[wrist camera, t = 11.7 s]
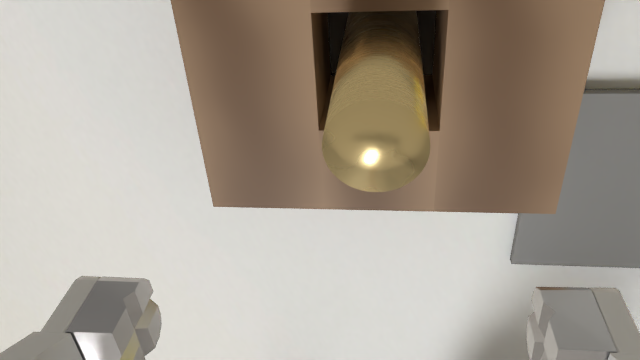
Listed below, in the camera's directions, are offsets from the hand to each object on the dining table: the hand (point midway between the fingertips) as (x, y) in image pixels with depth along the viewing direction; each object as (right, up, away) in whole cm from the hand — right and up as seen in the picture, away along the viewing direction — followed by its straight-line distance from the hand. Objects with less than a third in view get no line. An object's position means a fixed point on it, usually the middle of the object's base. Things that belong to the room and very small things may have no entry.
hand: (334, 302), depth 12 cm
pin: (+2, +9, +12) cm, 15 cm away
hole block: (+2, +9, +12) cm, 15 cm away
